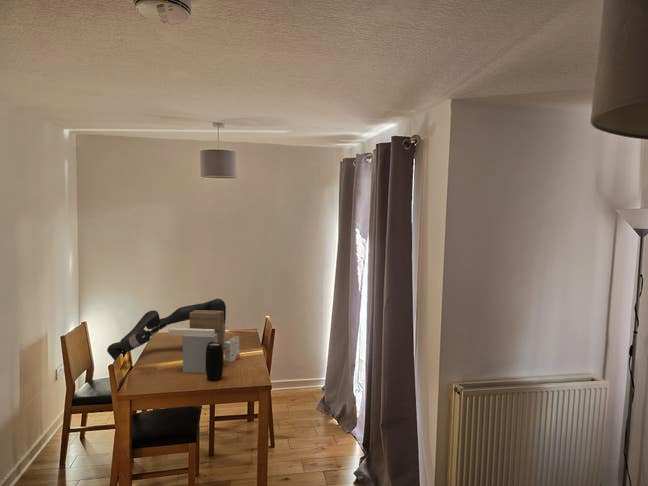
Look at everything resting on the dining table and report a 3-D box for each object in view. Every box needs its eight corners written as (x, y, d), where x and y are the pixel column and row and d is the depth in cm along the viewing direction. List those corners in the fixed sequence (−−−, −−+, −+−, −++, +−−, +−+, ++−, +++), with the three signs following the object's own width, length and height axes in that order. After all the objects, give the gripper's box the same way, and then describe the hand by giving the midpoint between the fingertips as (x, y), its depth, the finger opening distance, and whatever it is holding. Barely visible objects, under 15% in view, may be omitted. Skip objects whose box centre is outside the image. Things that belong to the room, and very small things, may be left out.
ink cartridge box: (233, 357, 273) (233, 334, 272) (239, 358, 270) (239, 335, 269) (224, 360, 266) (224, 337, 265) (230, 362, 263) (229, 338, 262)
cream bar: (171, 333, 250) (171, 327, 249) (214, 334, 247) (214, 329, 247) (168, 334, 246) (168, 329, 246) (212, 336, 244) (212, 330, 244)
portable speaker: (205, 376, 238) (204, 342, 237) (222, 375, 241) (222, 340, 240) (206, 382, 230) (206, 346, 229) (224, 380, 233) (224, 344, 232)
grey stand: (187, 368, 252) (187, 332, 250) (217, 369, 250) (217, 333, 249) (183, 372, 245) (182, 335, 244) (213, 373, 243) (213, 336, 242)
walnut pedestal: (195, 361, 263) (194, 310, 261) (223, 363, 261) (223, 310, 259) (189, 366, 255) (189, 312, 253) (219, 367, 253) (219, 313, 251)
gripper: (129, 336, 242) (153, 323, 241) (142, 330, 257) (165, 317, 255) (136, 348, 242) (160, 334, 241) (148, 341, 257) (171, 328, 255)
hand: (162, 325), depth 248 cm, fingers open, 8 cm apart
